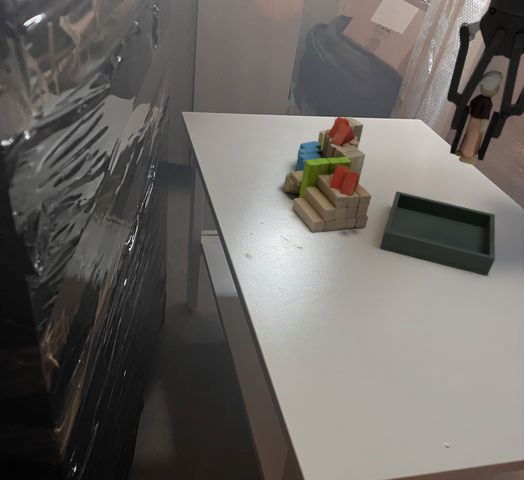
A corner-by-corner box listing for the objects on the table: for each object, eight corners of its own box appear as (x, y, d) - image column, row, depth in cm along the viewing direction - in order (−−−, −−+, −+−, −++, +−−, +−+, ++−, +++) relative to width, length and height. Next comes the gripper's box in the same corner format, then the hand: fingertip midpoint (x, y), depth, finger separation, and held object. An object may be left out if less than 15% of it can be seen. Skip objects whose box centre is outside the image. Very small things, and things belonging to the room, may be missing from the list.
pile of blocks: (285, 142, 123) (292, 88, 116) (353, 151, 124) (364, 97, 116) (281, 228, 97) (290, 165, 89) (367, 239, 97) (384, 177, 90)
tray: (488, 229, 104) (494, 214, 102) (487, 275, 93) (494, 259, 91) (392, 206, 107) (396, 191, 105) (379, 248, 96) (384, 231, 94)
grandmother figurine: (487, 168, 88) (521, 80, 80) (464, 167, 87) (496, 79, 79) (464, 146, 93) (494, 62, 85) (442, 145, 93) (470, 60, 84)
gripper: (463, -31, 73) (410, 150, 88) (601, -6, 70) (521, 175, 86) (465, -39, 78) (415, 133, 94) (593, -16, 76) (520, 156, 91)
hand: (466, 153), depth 90 cm, fingers closed on grandmother figurine, 3 cm apart
